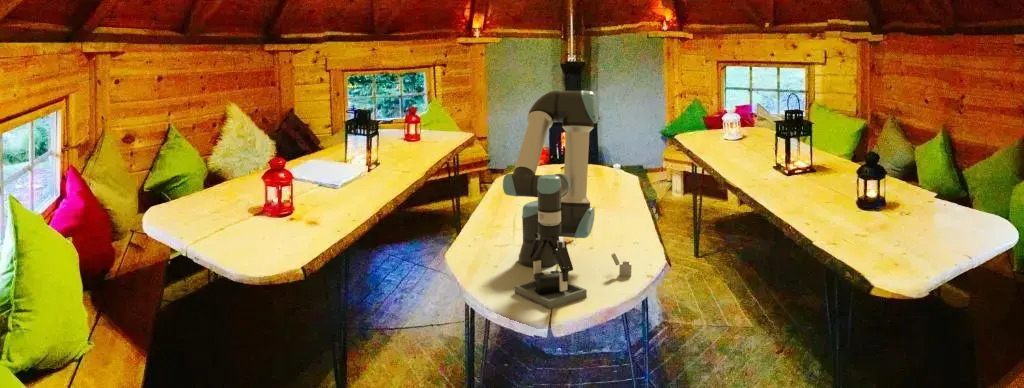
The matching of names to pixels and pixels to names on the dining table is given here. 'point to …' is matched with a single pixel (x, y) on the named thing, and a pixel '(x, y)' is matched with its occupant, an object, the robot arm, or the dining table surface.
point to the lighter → (622, 266)
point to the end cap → (547, 283)
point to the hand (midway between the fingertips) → (550, 284)
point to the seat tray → (550, 295)
